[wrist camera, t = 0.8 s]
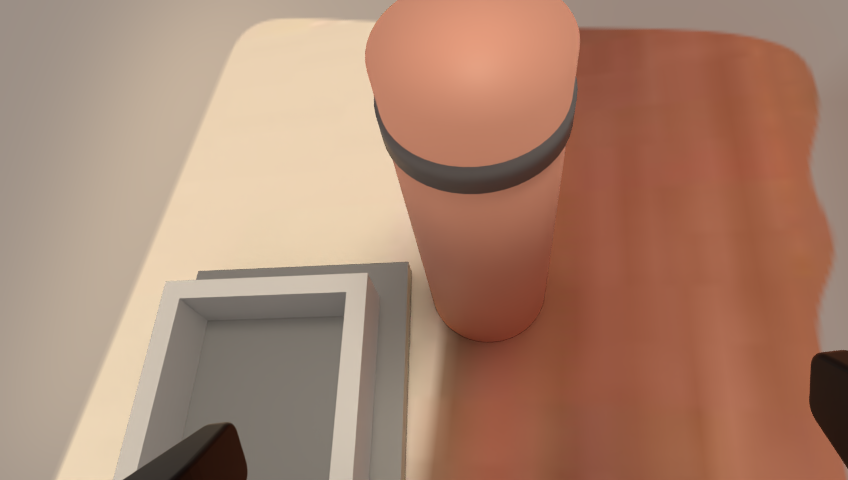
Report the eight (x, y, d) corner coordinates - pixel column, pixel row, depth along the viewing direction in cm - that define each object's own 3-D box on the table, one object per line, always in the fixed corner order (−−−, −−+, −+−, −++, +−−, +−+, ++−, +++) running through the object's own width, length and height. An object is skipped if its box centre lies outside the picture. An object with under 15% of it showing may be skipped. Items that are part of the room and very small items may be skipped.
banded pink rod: (552, 342, 24) (599, 119, 12) (430, 346, 24) (352, 136, 12) (542, 235, 26) (570, -40, 14) (431, 240, 27) (368, -19, 15)
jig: (395, 796, 17) (371, 846, 14) (96, 774, 19) (16, 817, 16) (411, 271, 26) (398, 234, 23) (208, 280, 27) (171, 245, 24)
